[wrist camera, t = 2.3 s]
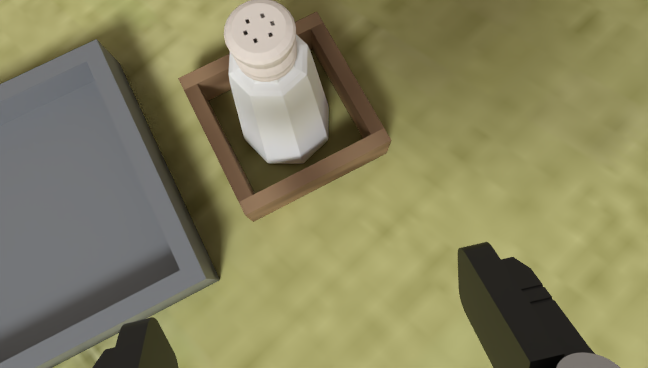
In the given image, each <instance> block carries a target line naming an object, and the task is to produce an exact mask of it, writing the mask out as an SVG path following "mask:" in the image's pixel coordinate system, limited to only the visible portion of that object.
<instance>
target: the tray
mask: <svg viewBox="0 0 648 368" xmlns="http://www.w3.org/2000/svg"><path fill="white" fill-rule="evenodd" d="M219 280H220V279H219V277H218V275H217V272H216V270H215V268H214V266H213V264H212V262H211V260H210V257H209V255H208V253H207V251H206V249H205V247H204V244H203V242H202V240H201V238H200V236H199V234H198V232H197V229H196V227H195V225H194V223H193V221H192V219H191V216H190V214H189V212H188V210H187V208H186V206H185V204H184V201H183V199H182V197H181V195H180V193H179V191H178V188H177V186H176V184H175V182H174V180H173V178H172V175H171V173H170V171H169V169H168V167H167V165H166V163H165V160H164V158H163V156H162V154H161V152H160V150H159V147H158V145H157V143H156V141H155V139H154V137H153V135H152V132H151V130H150V128H149V126H148V124H147V122H146V119H145V117H144V115H143V113H142V111H141V109H140V107H139V104H138V102H137V100H136V98H135V96H134V94H133V91H132V89H131V87H130V85H129V83H128V81H127V79H126V76H125V74H124V72H123V70H122V68H121V66H120V63H119V62H118V61H117V60H116V59H115V58H114V57H113V56H112V55H111V54H110V53H109V52H108V51H107V50H106V49H105V48H104V47H103V46H102V45H101V43H100V42H99V41H98V40H97V39H96V40H94V41H91V42H89V43H87V44H85V45H83V46H81V47H79V48H77V49H74V50H72V51H70V52H68V53H66V54H64V55H62V56H59V57H57V58H55V59H53V60H51V61H49V62H47V63H45V64H42V65H40V66H38V67H36V68H34V69H32V70H30V71H27V72H25V73H23V74H21V75H19V76H17V77H15V78H12V79H10V80H8V81H6V82H4V83H2V84H0V368H52V367H54V366H56V365H58V364H60V363H62V362H64V361H66V360H67V359H69V358H71V357H73V356H75V355H77V354H79V353H81V352H83V351H85V350H87V349H89V348H90V347H92V346H94V345H96V344H98V343H100V342H102V341H104V340H106V339H108V338H110V337H112V336H113V335H115V334H117V333H119V332H120V329H121V327H122V325H123V324H126V323H130V322H135V321H139V320H144V319H146V318H148V317H150V316H152V315H154V314H156V313H157V312H159V311H161V310H163V309H165V308H167V307H169V306H171V305H173V304H175V303H177V302H179V301H180V300H182V299H184V298H186V297H188V296H190V295H192V294H194V293H196V292H198V291H200V290H202V289H203V288H205V287H207V286H209V285H211V284H213V283H215V282H217V281H219Z"/></svg>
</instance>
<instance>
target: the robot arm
mask: <svg viewBox="0 0 648 368" xmlns="http://www.w3.org/2000/svg"><path fill="white" fill-rule="evenodd" d="M458 280H459V294H460V299H461V303H462V306H463V308H464V311H465V313H466V315H467V317H468V319H469V321H470V323H471V325H472V327H473V329H474V331H475V333H476V334H477V336H478V338H479V340H480V342H481V344H482V346H483V348H484V350H485V352H486V354H487V356H488V358H489V360H490V362H491V364H492V366H493V368H620V367H619V366H618V365H616V364H615V363H614V362H612V361H611V360H609V359H607V358H605V357H602V356H600V355H597V354H595V353H594V352H593V351H592V350H591V349H590V348H589V346H588V345H587V344H586V342H585V341H584V340H583V338H582V337H581V336H580V334H579V333H578V331H577V330H576V329H575V327H574V326H573V325H572V323H571V322H570V321H569V319H568V318H567V317H566V315H565V314H564V313H563V311H562V310H561V309H560V307H559V306H558V305H557V303H556V302H555V301H554V300H552V296H551V295H550V294H549V292H548V291H547V290H546V288H545V287H543V285H542V283H541V282H540V280H539V279H538V278H537V276H536V275H535V274H534V272H533V271H532V270H531V268H529V267H528V266H526V265H525V264H523V263H521V262H520V261H518V260H517V259H515V258H514V257H510V258H506V259H502V260H501V259H500V258H499V256H498V255H497V253H496V252H495V250H494V249H493V247H492V246H491V245H490V244H489V243H488V242H484V243H480V244H476V245H471V246H467V247H463V248H459V249H458ZM93 368H178V363H177V359H176V356H175V353H174V351H173V349H172V348H171V346H170V344H169V342H168V340H167V338H166V336H165V334H164V332H163V331H162V329H161V327H160V325H159V323H158V321H157V320H156V319H155V318H148V319H144V320H139V321H135V322H130V323H126V324H123V325H122V327H121V329H120V332H119V336H118V339H117V343H116V347H114V348H110V349H106V350H105V351H104V352H103V353H102V355H101V356H100V358H99V359H98V361H97V362H96V363H95V365H94V366H93Z"/></svg>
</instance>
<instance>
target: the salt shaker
mask: <svg viewBox="0 0 648 368" xmlns="http://www.w3.org/2000/svg"><path fill="white" fill-rule="evenodd" d="M224 39H225V43H226V45H227V47H228V49H229V51H230V56H229V81H230V86H231V89H232V93H233V97H234V101H235V105H236V109H237V113H238V116H239V120H240V124H241V128H242V132H243V136H244V139H245V140H246V141H247V142H248V143H249V145H250V146H251V147H252V148H253V149H254V150H255V151H256V152H257V153H258V154H259V155H260V156H261V157H262V158H263V159H264V160H265V161H266V162H267V163H285V164H303V163H304V162H305V161H307V160H308V159H309V158H310V157H311V156H312V155H313V154H314V153H315V152H316V151H317V150H318V149H319V148H320V147H321V146H322V145H324V144H325V143H326V142H327V141H328V134H329V106H328V103H327V100H326V97H325V94H324V91H323V88H322V85H321V82H320V79H319V76H318V72H317V69H316V66H315V63H314V60H313V57H312V54H311V51H310V49H309V47H308V45H307V44H306V43H305V42H304V41H303V40H302V39H301V38H300V37H299V36H298V35H296V25H295V22H294V18H293V17H292V15H291V13H290V12H289V11H288V10H287V9H286V8H285V7H284V6H283V5H281V4H279V3H277V2H276V1H272V0H251V1H247V2H245V3H243V4H241V5H239V6H238V7H237V8H236V9H235V10H233V11H232V13H231V14H230V16H229V17H228V18H227V21H226V24H225V27H224Z"/></svg>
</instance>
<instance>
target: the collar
mask: <svg viewBox="0 0 648 368" xmlns="http://www.w3.org/2000/svg"><path fill="white" fill-rule="evenodd" d="M295 25H296V35H298V36H299V37H300V38H301V39H302V40H303V41H304V42H305V43H306V44H307V45H308V47H309V49H310V51H311V50H313V51H314V53H315V54H316V56H317V58H318V60H319V61H320V63H321V65H322V67H323V69H324V70H325V72H326V74H327V76H328V77H329V79H330V81H331V83H332V84H333V86H334V88H335V90H336V92H337V93H338V95H339V97H340V99H341V100H342V102H343V104H344V106H345V107H346V109H347V111H348V113H349V114H350V116H351V118H352V120H353V122H354V123H355V125H356V127H357V129H358V130H359V132H360V134H361V136H362V137H363V139H362V140H360V141H358V142H356V143H354V144H352V145H350V146H348V147H346V148H344V149H342V150H340V151H338V152H336V153H334V154H332V155H330V156H328V157H326V158H324V159H322V160H320V161H318V162H316V163H315V164H313V165H311V166H309V167H307V168H305V169H303V170H301V171H299V172H297V173H295V174H293V175H291V176H289V177H287V178H285V179H283V180H281V181H279V182H277V183H275V184H273V185H271V186H269V187H267V188H265V189H264V190H262V191H260V192H258V193H256V194H255V193H254V191H253V189H252V187H251V185H250V183H249V181H248V179H247V177H246V175H245V173H244V171H243V169H242V167H241V165H240V163H239V161H238V159H237V157H236V155H235V153H234V151H233V149H232V147H231V145H230V143H229V141H228V139H227V137H226V135H225V133H224V131H223V129H222V127H221V125H220V123H219V121H218V119H217V117H216V115H215V113H214V111H213V109H212V107H211V105H210V103H209V100H211V99H213V98H215V97H217V96H219V95H221V94H223V93H225V92H227V91H229V90H231V86H230V81H229V56H230V54H228V55H226V56H224V57H222V58H219V59H217V60H215V61H213V62H211V63H209V64H207V65H205V66H203V67H201V68H199V69H197V70H195V71H193V72H190V73H188V74H186V75H184V76H182V77H180V78H178V79H179V81H180V83H181V85H182V87H183V89H184V91H185V93H186V95H187V97H188V99H189V101H190V103H191V105H192V107H193V109H194V112H195V114H196V116H197V118H198V120H199V122H200V124H201V126H202V128H203V130H204V132H205V134H206V136H207V138H208V140H209V142H210V144H211V146H212V148H213V150H214V152H215V154H216V156H217V158H218V160H219V163H220V165H221V167H222V169H223V171H224V173H225V175H226V177H227V179H228V181H229V183H230V185H231V187H232V189H233V191H234V193H235V195H236V197H237V199H238V201H239V203H240V205H241V207H242V209H243V212H244V214H245V215H246V216H247V217H248V218H249V219H250V220H252V221H253V222H254V221H256V220H258V219H260V218H262V217H263V216H265V215H267V214H269V213H271V212H273V211H275V210H277V209H279V208H281V207H283V206H285V205H287V204H289V203H291V202H293V201H295V200H296V199H298V198H300V197H302V196H304V195H306V194H308V193H310V192H312V191H314V190H316V189H318V188H320V187H322V186H324V185H326V184H328V183H330V182H331V181H333V180H335V179H337V178H339V177H341V176H343V175H345V174H347V173H349V172H351V171H353V170H355V169H357V168H359V167H361V166H363V165H365V164H366V163H368V162H370V161H372V160H374V159H376V158H378V157H380V156H382V155H384V154H386V153H387V151H388V148H389V145H390V143H391V139H390V137H389V135H388V134H387V132H386V130H385V128H384V127H383V125H382V123H381V122H380V120H379V118H378V116H377V115H376V113H375V111H374V109H373V108H372V106H371V104H370V103H369V101H368V99H367V97H366V96H365V94H364V92H363V90H362V89H361V87H360V85H359V84H358V82H357V80H356V78H355V77H354V75H353V73H352V71H351V70H350V68H349V66H348V65H347V63H346V61H345V59H344V58H343V56H342V54H341V52H340V51H339V49H338V47H337V46H336V44H335V42H334V40H333V39H332V37H331V35H330V33H329V32H328V30H327V28H326V27H325V25H324V23H323V21H322V20H321V18H320V16H319V14H318V13H317V12H315V13H313V14H311V15H309V16H307V17H305V18H302V19H300V20H298V21H296V22H295Z"/></svg>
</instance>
